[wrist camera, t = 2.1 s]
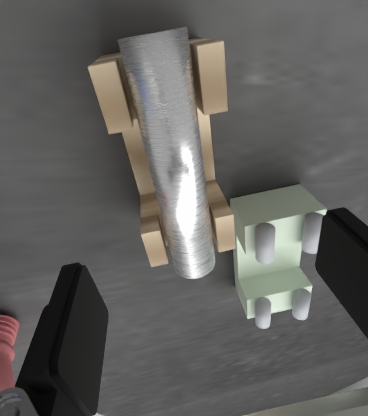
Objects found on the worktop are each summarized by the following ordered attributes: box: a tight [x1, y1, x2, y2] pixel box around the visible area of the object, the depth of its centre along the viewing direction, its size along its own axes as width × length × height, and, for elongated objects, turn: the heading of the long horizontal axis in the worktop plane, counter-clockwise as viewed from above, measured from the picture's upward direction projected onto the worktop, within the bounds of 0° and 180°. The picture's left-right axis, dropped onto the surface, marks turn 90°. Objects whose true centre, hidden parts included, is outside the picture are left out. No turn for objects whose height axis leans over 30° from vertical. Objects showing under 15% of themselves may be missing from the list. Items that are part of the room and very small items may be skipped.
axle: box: [118, 27, 215, 279], centre depth 15 cm, size 14×3×3 cm, turn 9°
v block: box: [230, 184, 327, 329], centre depth 25 cm, size 12×6×5 cm, turn 9°
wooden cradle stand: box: [88, 38, 236, 267], centre depth 18 cm, size 12×6×6 cm, turn 9°
